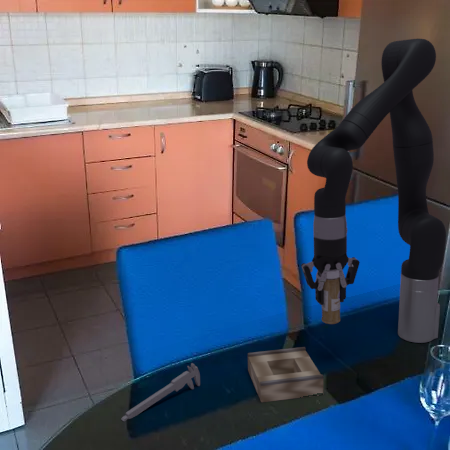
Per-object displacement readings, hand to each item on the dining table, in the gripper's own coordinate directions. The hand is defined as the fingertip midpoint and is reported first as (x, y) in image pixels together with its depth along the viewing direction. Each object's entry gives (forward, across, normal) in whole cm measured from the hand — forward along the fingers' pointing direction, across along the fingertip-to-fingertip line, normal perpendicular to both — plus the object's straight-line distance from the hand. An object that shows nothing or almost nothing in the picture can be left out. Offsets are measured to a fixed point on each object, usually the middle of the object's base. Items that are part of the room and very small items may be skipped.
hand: (330, 301), depth 140 cm
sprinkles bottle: (+5, 0, 0) cm, 5 cm away
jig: (+15, +14, +7) cm, 22 cm away
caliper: (+15, +42, +8) cm, 45 cm away
